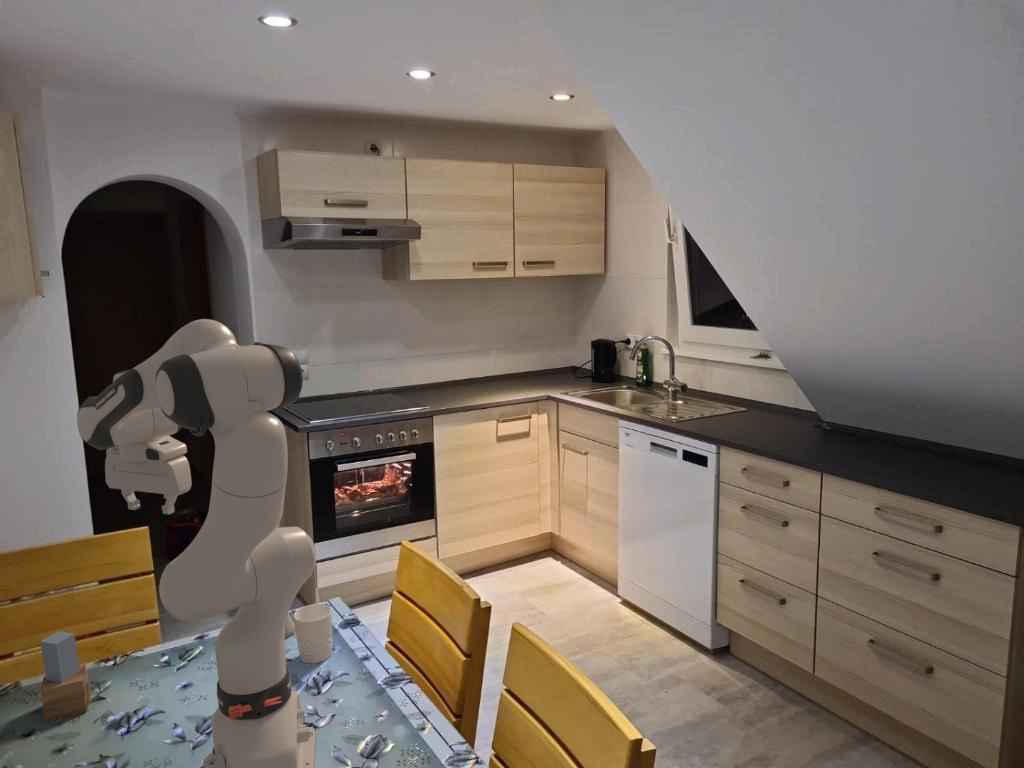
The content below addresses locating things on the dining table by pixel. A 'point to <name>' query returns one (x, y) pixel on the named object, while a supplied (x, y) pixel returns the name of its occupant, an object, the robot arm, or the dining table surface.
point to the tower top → (64, 688)
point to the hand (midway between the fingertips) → (151, 511)
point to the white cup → (314, 632)
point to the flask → (289, 626)
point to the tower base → (68, 707)
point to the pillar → (60, 656)
